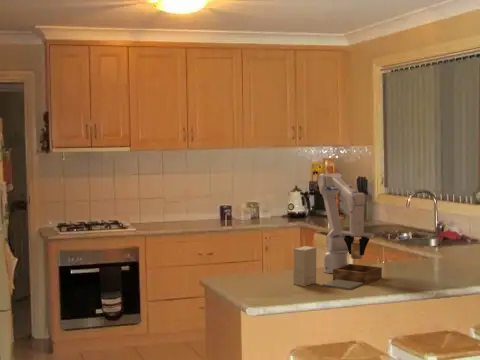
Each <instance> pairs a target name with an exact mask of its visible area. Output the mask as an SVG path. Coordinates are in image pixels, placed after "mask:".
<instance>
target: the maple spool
mask: <svg viewBox="0 0 480 360" xmlns="http://www.w3.org/2000/svg"><path fill="white" fill-rule="evenodd" d="M350 258H351V259H354V260H361V259H363V255H362V256H361V255H360V242H353V243H351V254H350Z"/></svg>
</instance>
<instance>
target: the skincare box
mask: <svg viewBox="0 0 480 360" xmlns="http://www.w3.org/2000/svg"><path fill="white" fill-rule="evenodd" d="M292 268H293V274H292V275H293V280H292V281H293V285H296V286H301V287H306V286H310V285H312V284H317V247H314V246H307V245H303V246H299V247H297V248H293V267H292Z"/></svg>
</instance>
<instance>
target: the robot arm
mask: <svg viewBox="0 0 480 360" xmlns="http://www.w3.org/2000/svg"><path fill="white" fill-rule="evenodd" d="M317 179H318V180H317V185H318V189H319V193H320V195H322V197H323V202H324V208H325V211H326V216H327V221H328V225H329V230H330V231H329V232H328V233H327V235H326V236H325V246H326V250H327V251H326V252H325V254H324V260H323V261H324V263H323V268H324V269H323V273H327V274H333V269H335V268H338V267H341V266H344V265H347V264H348V254H349V255H351V243H355V242H354V240H355V238H358V243H360V255H361V256H362V257H363V256H364V255H365V251H366V248H367V245H368V244H369V241H370V240H373V239H374V238H375V235H374V234H375V233H370V232H364V231H365V230H364V228H365V226H364V225H365V224H364V222H365V221H364V220H365V219H364V217H365V214H364V213H365V207H366V205H367V203H368V201H367V200H368V199H367V196H366V193H364V192H359V191H358V190H357V189H356V188H354V186H353V184H347V183H346V182H345V181H344V176H343V175H342V174H341V172H338V173H320V174H319V175H318V178H317ZM339 192H340V194H341V196H342V197H343V198H344V199H345V201H346V202H347V206H348V211H349V231H346V230H344V229H343V228H342V223H341V219H340V213H339V209H338V205H337V200H336V195H338V194H339Z"/></svg>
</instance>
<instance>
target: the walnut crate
mask: <svg viewBox="0 0 480 360" xmlns="http://www.w3.org/2000/svg"><path fill="white" fill-rule="evenodd" d="M382 269H383V268H382V267H381V266H370V265H365V264H364V265H361V264H354V263H347V265H344V266H341V267H338V268H335V269H333V273H332V281H333V280H336V279H338V280H346V281H353V282H361V283H363V285H367V284H371V283H373V282H375V280H376V281H379V280H380V279H382V273H383V272H382Z"/></svg>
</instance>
